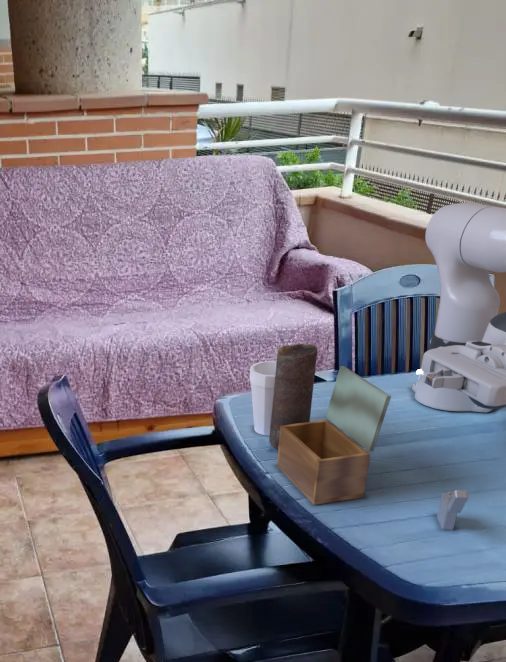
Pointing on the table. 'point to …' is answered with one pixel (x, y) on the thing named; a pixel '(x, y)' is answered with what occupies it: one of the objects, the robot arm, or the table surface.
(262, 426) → the foam cup
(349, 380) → the pale green flat panel
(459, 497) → the lighter
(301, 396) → the dark brown rough cylinder
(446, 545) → the table surface
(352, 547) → the table surface
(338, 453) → the box
